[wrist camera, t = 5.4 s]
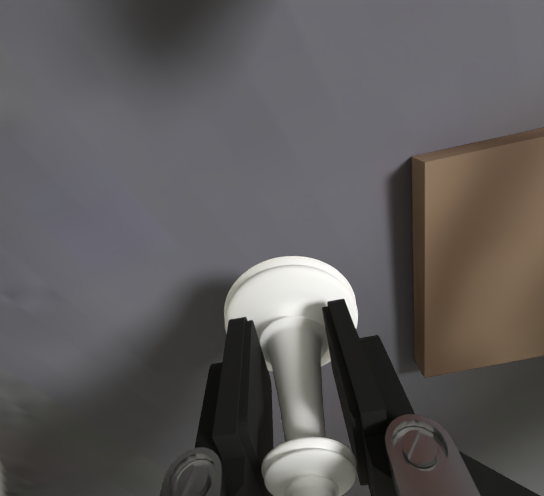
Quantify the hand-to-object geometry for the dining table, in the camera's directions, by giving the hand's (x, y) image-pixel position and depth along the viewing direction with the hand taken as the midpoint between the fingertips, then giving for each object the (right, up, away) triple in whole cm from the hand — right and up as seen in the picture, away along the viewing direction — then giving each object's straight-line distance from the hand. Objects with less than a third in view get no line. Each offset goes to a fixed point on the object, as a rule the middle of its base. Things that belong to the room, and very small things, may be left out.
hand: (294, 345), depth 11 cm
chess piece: (0, +1, +2) cm, 2 cm away
